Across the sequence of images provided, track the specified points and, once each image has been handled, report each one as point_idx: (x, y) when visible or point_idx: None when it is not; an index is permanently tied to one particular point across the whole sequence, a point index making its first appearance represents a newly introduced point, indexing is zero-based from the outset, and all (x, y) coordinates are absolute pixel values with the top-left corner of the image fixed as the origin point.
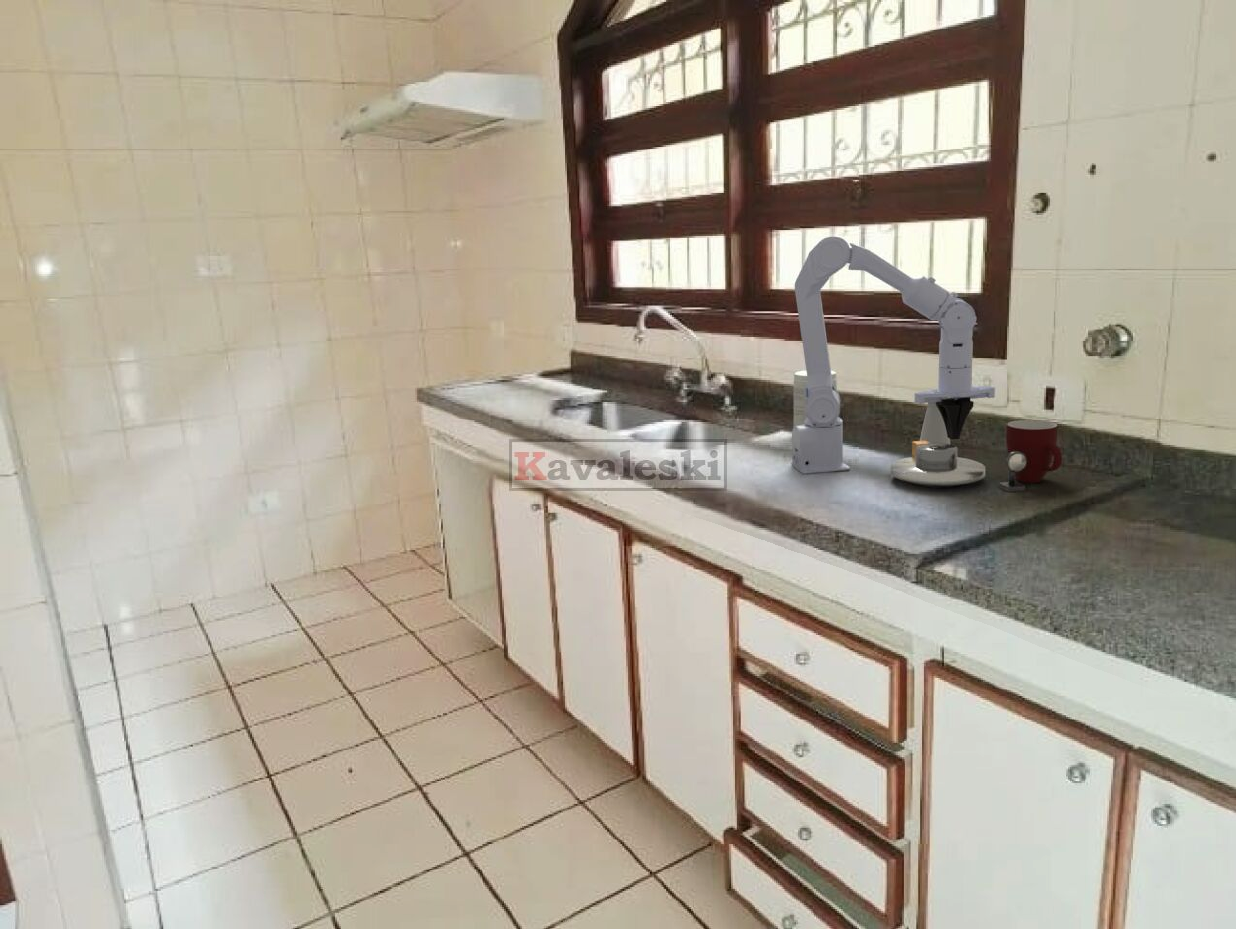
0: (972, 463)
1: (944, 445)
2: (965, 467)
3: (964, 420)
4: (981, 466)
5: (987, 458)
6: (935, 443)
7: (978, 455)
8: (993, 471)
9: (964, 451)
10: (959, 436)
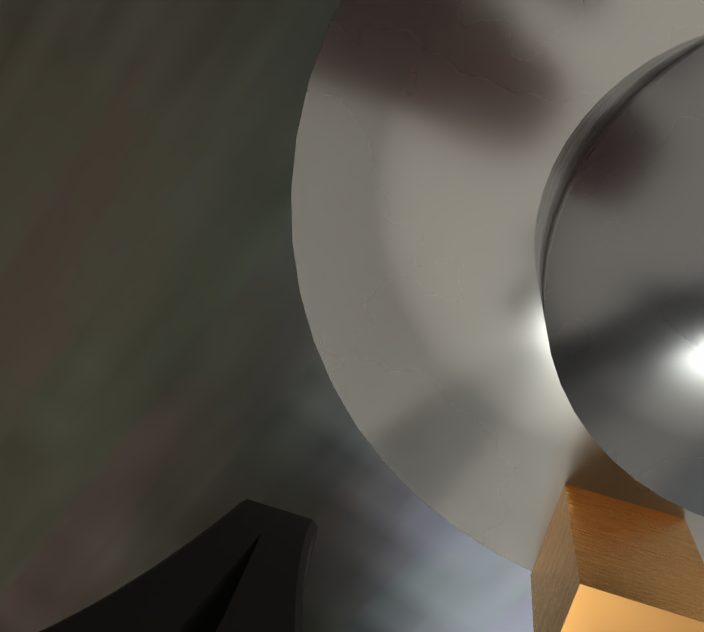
0: (367, 149)
1: (639, 338)
2: (530, 51)
3: (96, 609)
4: (372, 6)
5: (26, 450)
6: (642, 479)
7: (36, 527)
8: (165, 184)
9: None
10: (238, 507)
